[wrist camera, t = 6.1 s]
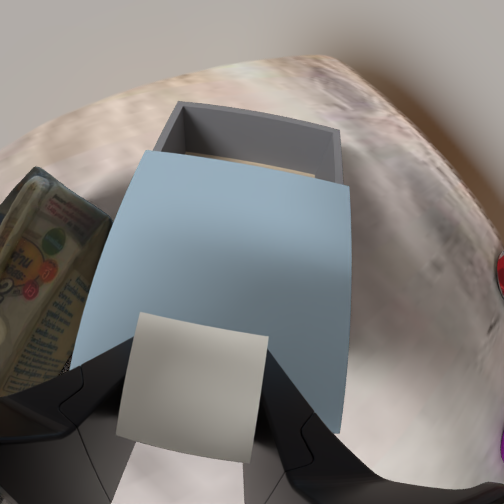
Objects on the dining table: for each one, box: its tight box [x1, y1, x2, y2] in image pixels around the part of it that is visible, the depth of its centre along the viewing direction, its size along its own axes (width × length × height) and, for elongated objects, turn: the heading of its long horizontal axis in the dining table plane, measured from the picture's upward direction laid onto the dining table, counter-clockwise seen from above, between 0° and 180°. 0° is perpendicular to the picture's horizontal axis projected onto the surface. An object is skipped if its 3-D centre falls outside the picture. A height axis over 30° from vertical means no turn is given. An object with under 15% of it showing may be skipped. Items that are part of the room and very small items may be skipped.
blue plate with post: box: [70, 150, 352, 463], centre depth 10 cm, size 12×11×7 cm
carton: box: [153, 101, 343, 185], centre depth 18 cm, size 12×11×5 cm
